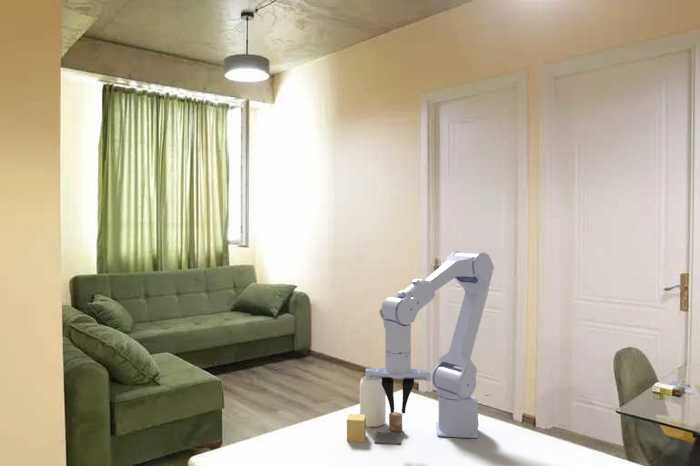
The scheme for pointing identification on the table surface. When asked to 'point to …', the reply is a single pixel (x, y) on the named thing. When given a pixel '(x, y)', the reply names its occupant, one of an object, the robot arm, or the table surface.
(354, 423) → the ochre block
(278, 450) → the table surface
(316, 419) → the table surface
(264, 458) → the table surface
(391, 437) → the coaster
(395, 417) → the cork cylinder
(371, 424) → the can
